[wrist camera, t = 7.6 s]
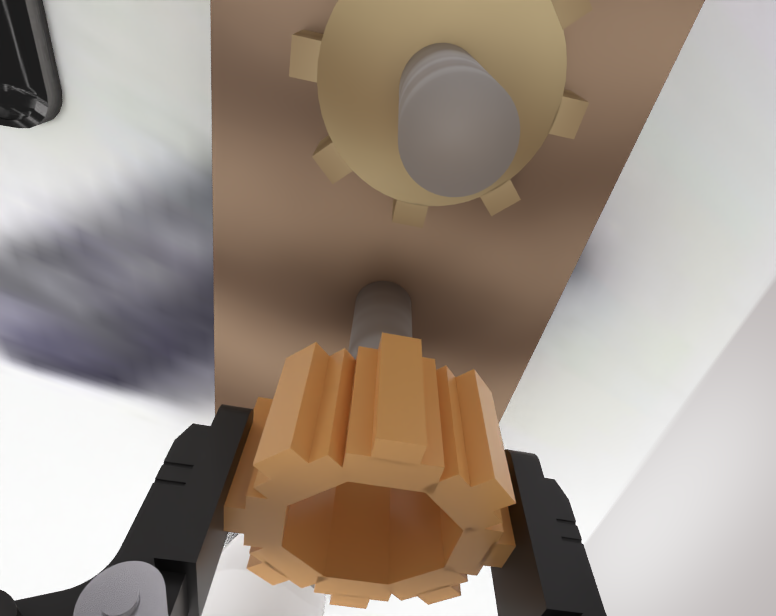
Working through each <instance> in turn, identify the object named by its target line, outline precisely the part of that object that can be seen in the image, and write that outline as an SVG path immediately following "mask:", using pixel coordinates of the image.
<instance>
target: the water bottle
mask: <svg viewBox="0 0 776 616" xmlns="http://www.w3.org/2000/svg"><path fill="white" fill-rule="evenodd" d="M250 547H251V546H246V545H244V534H242V533H239V534H238V535H237V536H236V537H235V538H234V539H233V540H232V541H230V542H229V543H228V544H227V545H226V546H225V547H224V548H223V550H222V553H221V556H220V559H219V562H218V565H217V568H216V571H215V575H214V578H213V581H212V584H211V587H210V590H209V593H208V597H207V600H206V603H205V606H204V609H203V612H202V615H201V616H323V613H324V607H325V594H322V593H314V588H312V587H311V586H307V587H304V588H300V587H299V586H297V585H296V584H294V583H293V582H291V581H290V580H288V581H285V582H282V583H279V584H276V585H271V584H270V583H268V582H267V581H265V580H263V579H262V578H260V577H259V576H257V575H256V574H254V573H253V572H251V571H249V570H248V569H246V568H247V564H248V561H249V557H250V554H249V551H250Z"/></svg>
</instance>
